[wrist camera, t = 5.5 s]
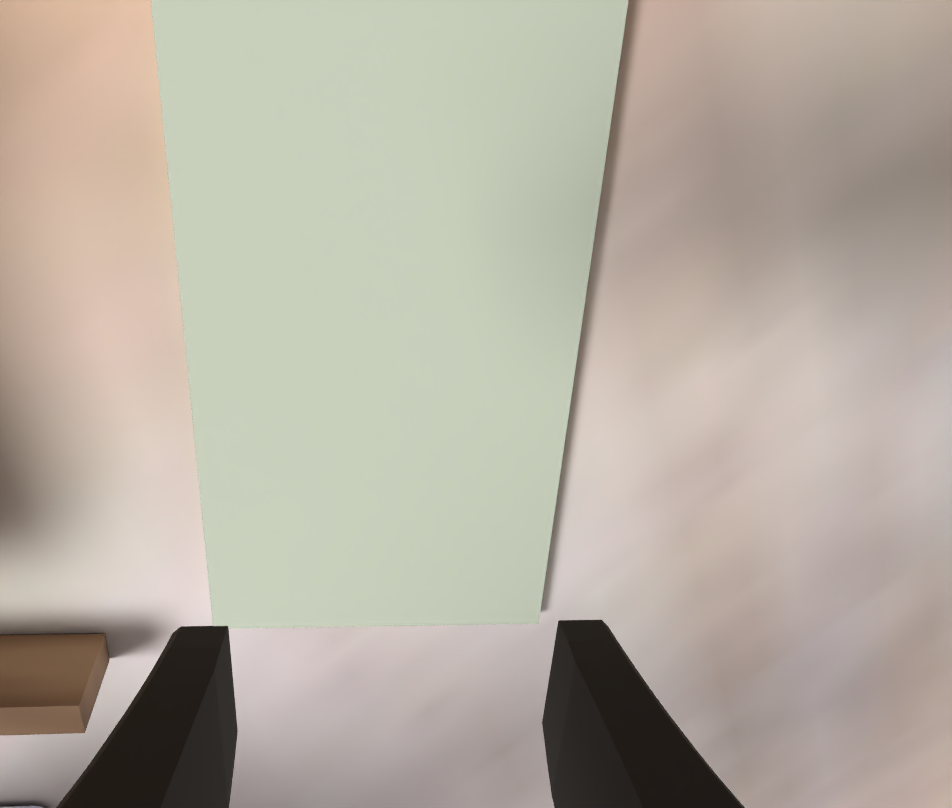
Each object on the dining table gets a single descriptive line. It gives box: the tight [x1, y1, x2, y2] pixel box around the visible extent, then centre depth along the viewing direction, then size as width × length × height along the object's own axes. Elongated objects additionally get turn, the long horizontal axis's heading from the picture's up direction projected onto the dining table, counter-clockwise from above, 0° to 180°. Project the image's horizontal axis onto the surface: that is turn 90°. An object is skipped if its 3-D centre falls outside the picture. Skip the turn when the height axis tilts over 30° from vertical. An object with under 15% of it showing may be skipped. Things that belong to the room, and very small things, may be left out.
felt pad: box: [151, 0, 629, 629], centre depth 21 cm, size 17×9×1 cm, turn 176°
